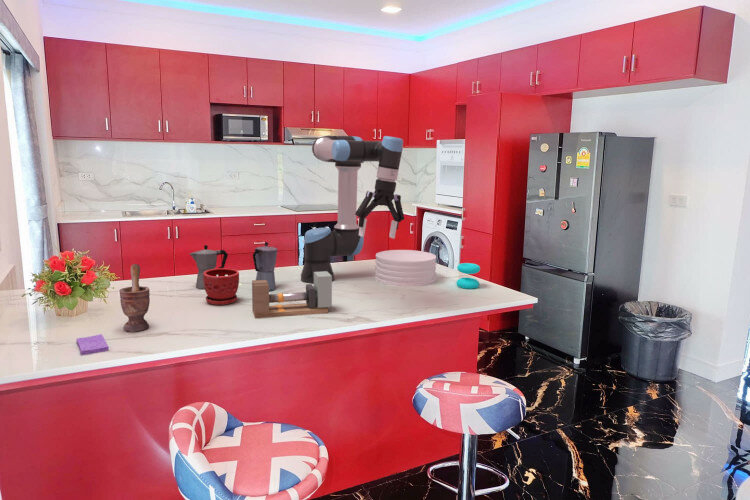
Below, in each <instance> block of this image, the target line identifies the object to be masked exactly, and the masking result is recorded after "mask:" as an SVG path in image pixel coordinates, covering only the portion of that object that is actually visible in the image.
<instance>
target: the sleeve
mask: <svg viewBox="0 0 750 500" xmlns="http://www.w3.org/2000/svg"><path fill="white" fill-rule="evenodd" d="M313 287H314V288H315V291H317V300H315V304H316V306H317V307H318V308H322V307H327V308H331V307H333V306H332V305H333V303H332V302H333V291H332V290H333V281H332V276H331V275H330V274H329V273H328V272H327V271H323V272H314V283H313Z"/></svg>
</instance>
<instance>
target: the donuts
mask: <svg viewBox="0 0 750 500" xmlns="http://www.w3.org/2000/svg"><path fill="white" fill-rule="evenodd" d="M456 268H457V271H458V272H460V273H462V274H465V275H474V274H478V273H479V272H480V271H481V267H480V265H478V264H476V263H473V262H472V263H471V262H463V263H458V265H457V266H456ZM455 284H456V286H457V287H459V288H462V289H467V290H472V289H477V288H478V287H480V282H479V280H478V279H476V278H473V277H461V278H459V279H457V280H456V283H455Z"/></svg>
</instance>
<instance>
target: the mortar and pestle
mask: <svg viewBox="0 0 750 500" xmlns="http://www.w3.org/2000/svg"><path fill="white" fill-rule="evenodd" d="M140 274H141V267H140V265H139V264H137V263H133V264H132V265H130V277H131V286H126V287H122V288H121V289H119V298H120V307H121V309H122V313H123V315H124V316H126V318H128V320H127V321H126V322H125V323H124V326H123V330H124V331H125V332H126V331H127V332H130V333H136V332H139V331H140V332H141V331H145V330H147V329H149V327H150V325H149V323H148V321H147V320H146V319H145V315H146V314H147V313H148V311H149V307H150V301H151V300H150V299H151V298H150V296H151V295H150V294H151V293H150V288H149V287H148V286H140V283H139V282H140V276H141V275H140Z"/></svg>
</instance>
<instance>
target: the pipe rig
mask: <svg viewBox="0 0 750 500" xmlns="http://www.w3.org/2000/svg"><path fill="white" fill-rule="evenodd" d="M251 295H252V296H251V297H252V298H251V299H252V302H251V303H252V308H251V309H252V314H253V316H254V319H265V318H277V317H278V318H279V317H291V316H303V315H304V316H305V315H316V314H317V315H318V314H328V312H329V307H322V308H318V307H317V306H316V304H315V308H309V306H308V305H307V303H306V302H305V303H304V302H303V301H306V300H309V292H306V291H301V292H287V293H284V292H280V293H279V292H278V293H272V294H271V293H270V291H269V284H268V283H267V281H266V280H256V279H255V280H251ZM315 300H317V291H315ZM299 301H300V302H301V301H302V302H303V303H292V304H290V303H288V304H276V305H275V304H274V305H273V304H272V305H270V304H271V303H287V302H299Z"/></svg>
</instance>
